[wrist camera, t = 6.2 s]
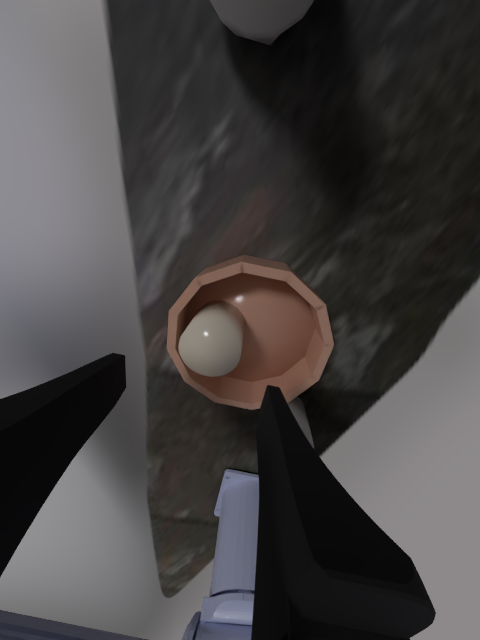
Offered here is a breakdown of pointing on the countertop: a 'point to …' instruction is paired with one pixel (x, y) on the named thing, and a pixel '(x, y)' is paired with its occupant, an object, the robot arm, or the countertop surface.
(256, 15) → the salt shaker
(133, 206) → the countertop surface
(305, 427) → the pebble
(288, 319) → the bowl
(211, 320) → the pebble
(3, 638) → the robot arm
